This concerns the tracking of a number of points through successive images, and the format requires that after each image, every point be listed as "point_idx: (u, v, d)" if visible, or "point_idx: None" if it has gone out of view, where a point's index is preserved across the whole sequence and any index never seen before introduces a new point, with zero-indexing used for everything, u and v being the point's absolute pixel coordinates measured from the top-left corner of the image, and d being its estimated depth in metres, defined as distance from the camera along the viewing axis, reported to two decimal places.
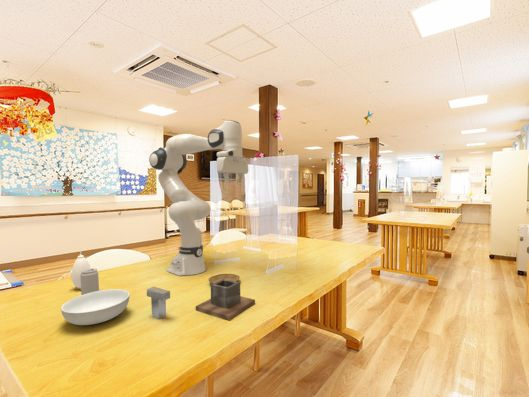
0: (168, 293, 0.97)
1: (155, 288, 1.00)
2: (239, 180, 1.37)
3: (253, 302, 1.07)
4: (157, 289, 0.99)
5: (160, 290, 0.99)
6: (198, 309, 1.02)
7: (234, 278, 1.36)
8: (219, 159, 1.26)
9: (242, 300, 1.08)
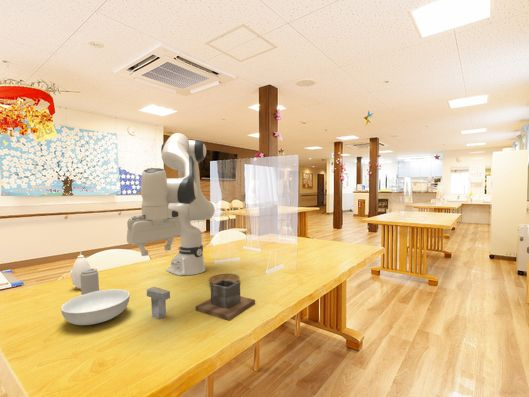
0: (168, 293, 0.97)
1: (155, 288, 1.00)
2: None
3: (253, 302, 1.07)
4: (157, 289, 0.99)
5: (160, 290, 0.99)
6: (198, 309, 1.02)
7: (234, 278, 1.36)
8: None
9: (242, 300, 1.08)
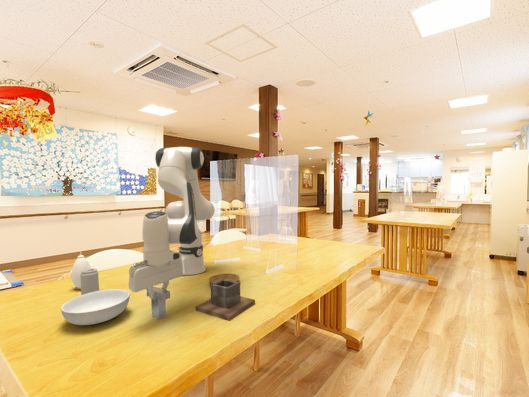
0: (168, 293, 0.97)
1: (155, 288, 1.00)
2: None
3: (253, 302, 1.07)
4: (157, 289, 0.99)
5: (160, 289, 0.99)
6: (198, 309, 1.02)
7: (234, 278, 1.36)
8: None
9: (242, 300, 1.08)
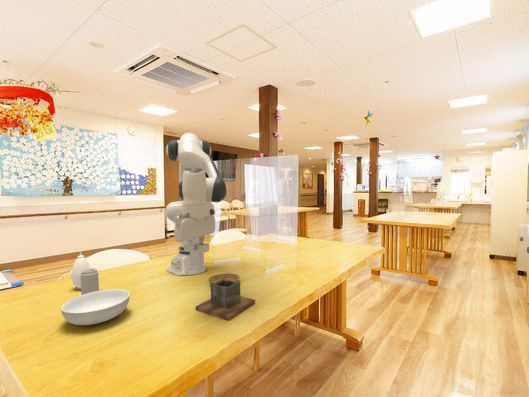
0: (208, 246, 1.01)
1: None
2: None
3: (253, 302, 1.07)
4: (195, 243, 1.02)
5: (198, 243, 1.02)
6: (198, 309, 1.02)
7: (234, 278, 1.36)
8: None
9: (242, 300, 1.08)
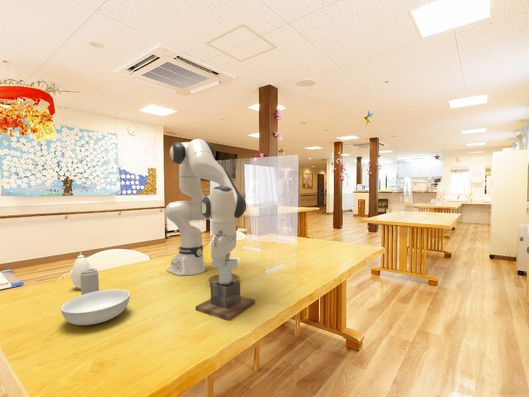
0: None
1: None
2: None
3: (253, 302, 1.07)
4: None
5: (226, 259, 1.05)
6: (198, 309, 1.02)
7: (234, 278, 1.36)
8: None
9: (242, 300, 1.08)
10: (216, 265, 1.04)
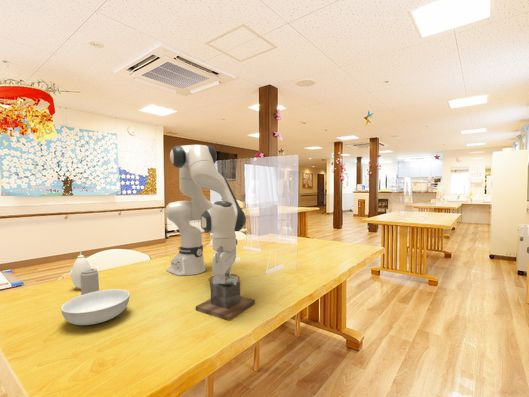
0: (237, 278, 1.06)
1: None
2: None
3: (253, 302, 1.07)
4: None
5: (227, 276, 1.06)
6: (198, 309, 1.02)
7: None
8: None
9: (242, 300, 1.08)
10: (216, 282, 1.04)
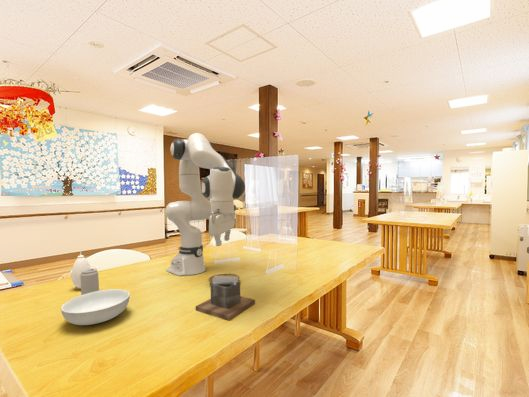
0: (237, 278, 1.06)
1: (220, 276, 1.06)
2: None
3: (253, 302, 1.07)
4: (223, 276, 1.06)
5: (227, 276, 1.06)
6: (198, 309, 1.02)
7: None
8: None
9: (242, 300, 1.08)
10: (216, 282, 1.04)
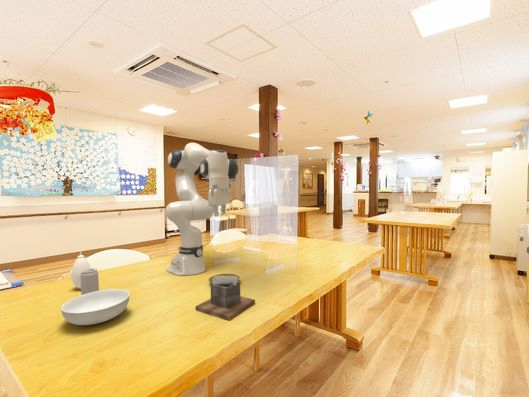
0: (237, 278, 1.06)
1: (220, 276, 1.06)
2: None
3: (253, 302, 1.07)
4: (223, 276, 1.06)
5: (227, 276, 1.06)
6: (198, 309, 1.02)
7: None
8: None
9: (242, 300, 1.08)
10: (216, 282, 1.04)
